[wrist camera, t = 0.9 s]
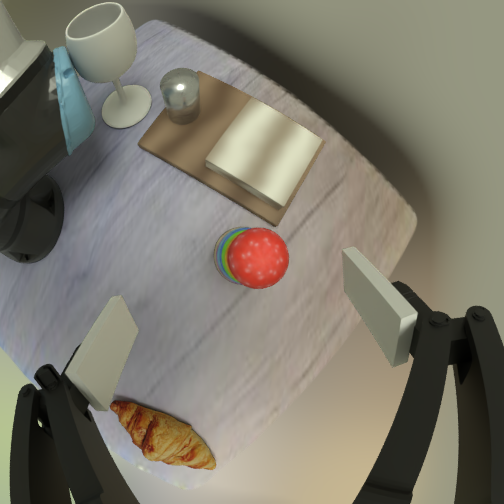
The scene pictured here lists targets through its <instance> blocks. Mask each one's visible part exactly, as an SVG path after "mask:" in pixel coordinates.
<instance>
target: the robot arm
mask: <svg viewBox="0 0 504 504" xmlns="http://www.w3.org/2000/svg"><path fill="white" fill-rule="evenodd" d="M94 127H95V118H94V115H93V113H92V110H91V108H90V105H89V103H88V101H87V98H86V96H85V93H84V91H83V89H82V86H81V84H80V81H79V79H78V76H77V74H76V71H75V69H74V66H73V64H72V62H71V59H70V57H69V54H68V52H67V49H66V47H64V46H61V47H59V48H55V49H54V50H53V52H51V51H50V50H49V48H48V46H47V45H46V43H45V42H44V41H42V40H39V41H37V40H36V41H27V40H25V39H24V38H23V37H22V35H21V34H20V32H19V30H18V29H17V27H16V25H15V24H14V22H13V20H12V19H11V17H10V15H9V14H8V12H7V10H6V8H5V7H4V5H3V3H2V1H1V0H0V253H2V254H4V255H5V256H7V257H9V258H11V259H12V260H14V261H16V262H20V263H33V262H37V261H39V260H41V259H43V258H44V257H45V256H46V255H47V254H48V253H49V252H50V251H51V250H52V248H53V247H54V245H55V244H56V242H57V240H58V237H59V235H60V232H61V228H62V224H63V216H64V204H63V198H62V194H61V191H60V189H59V187H58V185H57V183H56V182H55V181H54V180H53V179H52V178H51V177H49V176H48V175H46V174H47V173H48V172H49V171H50V170H51V169H52V168H53V167H54V166H56V165H57V164H58V163H59V162H60V161H61V160H62V159H63V158H65V157H66V156H67V155H68V156H70V155H71V154H72V151H73V150H74V149H75V148H76V147H78V146H79V145H80V144H81V143H82V142H83V141H84V140H86V139H87V138H88V137H89V136H90V135H91V134H92V132H93V130H94ZM342 260H343V278H344V291H345V293H346V294H347V296H348V297H349V299H350V300H351V302H352V304H353V305H354V307H355V308H356V310H357V311H358V313H359V314H360V316H361V317H362V319H363V321H364V322H365V324H366V325H367V327H368V328H369V330H370V332H371V333H372V335H373V336H374V338H375V340H376V341H377V343H378V344H379V346H380V348H381V349H382V351H383V352H384V354H385V356H386V358H387V359H388V361H389V363H390V364H391V366H392V367H396V366H398V365H401V364H403V363H406V362H407V361H408V357H409V353H410V354H411V355H412V356H413V358H414V360H413V364H412V368H411V371H410V375H409V378H408V381H407V384H406V388H405V391H404V394H403V397H402V400H401V402H400V405H399V408H398V411H397V413H396V416H395V419H394V421H393V424H392V426H391V429H390V431H389V434H388V436H387V438H386V441H385V443H384V445H383V447H382V449H381V452H380V454H379V456H378V458H377V460H376V462H375V464H374V466H373V468H372V470H371V472H370V474H369V476H368V478H367V479H366V481H365V483H364V485H363V486H362V488H361V490H360V492H359V493H358V495H357V497H356V499H355V500H354V502H353V503H352V504H410V503H411V500H412V496H413V494H412V491H413V488H414V485H415V483H416V481H417V478H418V476H419V473H420V471H421V468H422V465H423V462H424V460H425V457H426V454H427V451H428V448H429V445H430V442H431V439H432V436H433V432H434V428H435V425H436V421H437V417H438V414H439V409H440V405H441V401H442V396H443V391H444V385H445V380H446V374H447V368H448V365H453V370H454V377H455V386H456V395H457V408H458V426H459V427H458V429H459V454H458V473H457V484H456V494H455V501H454V504H504V346H503V343H502V340H501V338H500V335H499V333H498V330H497V327H496V324H495V322H494V319H493V317H492V315H491V313H490V311H489V310H487V309H486V308H484V307H482V306H472V307H470V308H469V309H468V310H467V312H466V315H465V317H462V318H454V319H451V318H450V317H449V316H448V315H447V314H445V313H443V312H439V311H437V312H436V311H432V310H431V309H430V308H429V307H428V306H427V305H426V304H425V303H424V302H423V301H422V300H421V299H420V298H419V297H418V296H417V295H416V293H415V292H413V290H412V289H411V288H410V287H408V286H407V285H406V284H404V283H402V282H399V281H397V282H394V283H390V282H389V281H388V280H387V279H386V278H385V277H384V276H383V275H382V274H381V273H380V272H379V271H378V270H377V269H376V268H375V267H374V266H373V265H372V264H371V263H370V262H369V261H368V260H367V259H366V258H365V257H364V256H363V255H362V254H361V253H360V252H359V251H358V250H357V249H356V248H355V247H350V248H345V249H342ZM138 331H139V330H138V328H137V326H136V324H135V322H134V320H133V318H132V316H131V314H130V312H129V310H128V308H127V306H126V304H125V302H124V299H123V297H122V295H119V296H113V297H111V298H110V300H109V301H108V303H107V304H106V306H105V307H104V309H103V310H102V312H101V313H100V315H99V317H98V318H97V320H96V321H95V323H94V324H93V326H92V327H91V329H90V331H89V332H88V334H87V336H86V337H85V339H84V340H83V342H82V343H81V344H80V345H79V346H78V347H77V348H76V350H75V351H74V353H73V355H72V356H71V358H70V361H69V362H68V363H67V365H66V367H65V368H64V370H63V372H62V374H61V376H60V375H59V373H58V372H57V371H56V369H55V368H54V367H53V365H51V364H46V365H43V366H42V367H40V368H39V369H38V370H37V371H36V373H35V376H34V379H35V380H36V381H37V383H38V384H39V385H40V386H41V388H42V389H40V390H37V389H36V387H35V386H34V385H33V384H27V385H24V386H23V387H22V388H21V390H20V391H19V394H18V399H17V405H16V410H15V416H14V423H13V431H12V441H11V453H10V499H11V504H72V502H71V498H70V491H71V493H72V496H73V498H74V500H75V504H140V503H139V502H138V500H137V499H136V497H135V496H134V494H133V493H132V491H131V490H130V488H129V486H128V485H127V483H126V481H125V480H124V478H123V476H122V475H121V473H120V471H119V469H118V468H117V466H116V464H115V462H114V460H113V458H112V457H111V455H110V453H109V451H108V449H107V447H106V445H105V443H104V441H103V438H102V436H101V434H100V432H99V430H98V428H97V425H96V423H95V421H94V418H93V416H92V414H91V412H90V411H89V409H88V405H89V403H90V404H91V406H92V407H93V408H94V409H95V410H96V411H108V408H109V405H110V403H111V400H112V397H113V394H114V392H115V389H116V386H117V384H118V381H119V378H120V376H121V373H122V370H123V368H124V365H125V363H126V360H127V358H128V355H129V353H130V350H131V348H132V346H133V343H134V341H135V338H136V336H137V334H138ZM38 420H39V421H40V422H41V423H42V427H40V426H39V424H38ZM69 488H70V491H69Z"/></svg>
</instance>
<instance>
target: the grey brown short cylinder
mask: <svg viewBox="0 0 504 504" xmlns="http://www.w3.org/2000/svg"><path fill="white" fill-rule="evenodd" d="M160 88H161V91H162V95H163V99H164V102H165V106H166V110H167V113H168V117H169V119H170V120H171V121H172V122H173V123H175V124H178V125H186V124H189V123H192V122H193V121H195V120H196V119H197V118H198V116H199V114H200V90H199V77H198V75H197V73H196V72H194V71H193V70H191V69H188V68H178V69H174V70H172V71H170V72H168V73H167V74H165V75H164V77H163V78H162V80H161V82H160Z"/></svg>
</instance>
